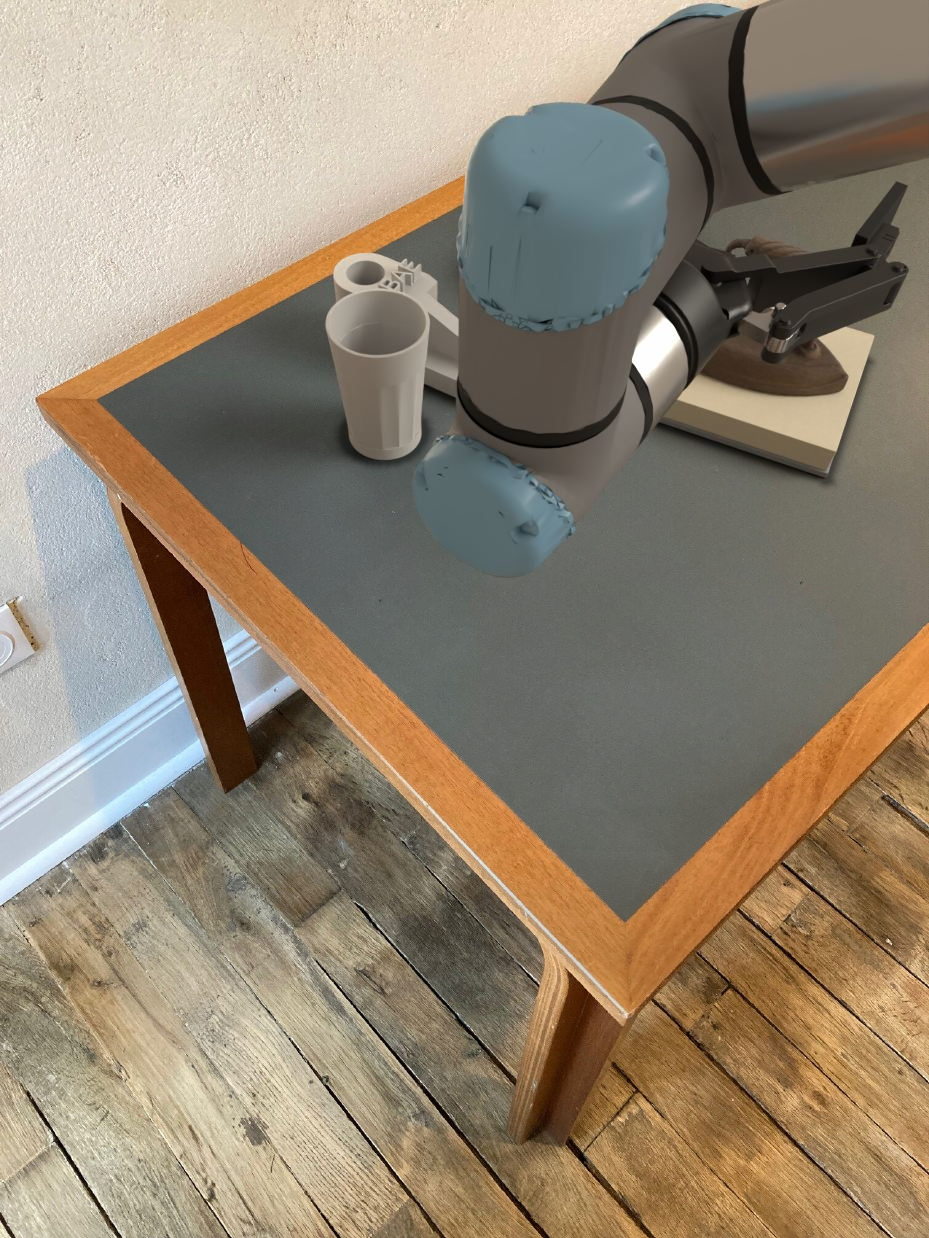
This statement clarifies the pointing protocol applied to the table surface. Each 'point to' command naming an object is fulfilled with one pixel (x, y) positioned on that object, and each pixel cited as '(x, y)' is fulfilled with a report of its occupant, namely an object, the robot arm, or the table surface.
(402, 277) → the grey mounting bracket
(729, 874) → the table surface
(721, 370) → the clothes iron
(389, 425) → the cup
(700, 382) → the cream flat slab
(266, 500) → the table surface
